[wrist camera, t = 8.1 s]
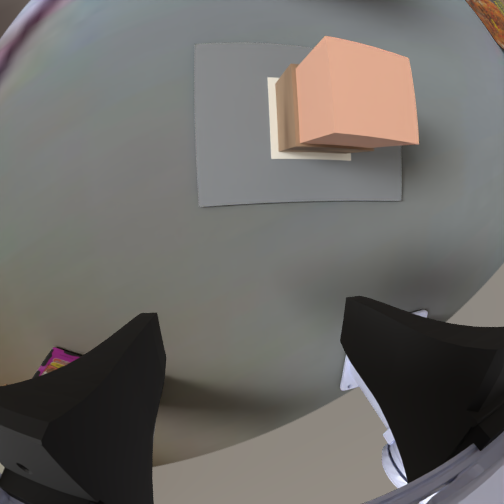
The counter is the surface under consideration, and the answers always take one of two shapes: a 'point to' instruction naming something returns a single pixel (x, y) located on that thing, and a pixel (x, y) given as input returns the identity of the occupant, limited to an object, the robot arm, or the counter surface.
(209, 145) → the mat
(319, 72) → the terracotta block
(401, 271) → the counter surface
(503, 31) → the tin
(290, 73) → the walnut block
